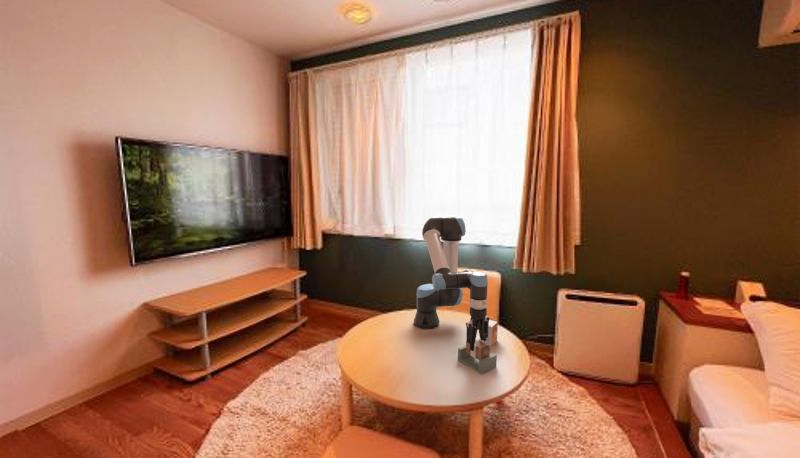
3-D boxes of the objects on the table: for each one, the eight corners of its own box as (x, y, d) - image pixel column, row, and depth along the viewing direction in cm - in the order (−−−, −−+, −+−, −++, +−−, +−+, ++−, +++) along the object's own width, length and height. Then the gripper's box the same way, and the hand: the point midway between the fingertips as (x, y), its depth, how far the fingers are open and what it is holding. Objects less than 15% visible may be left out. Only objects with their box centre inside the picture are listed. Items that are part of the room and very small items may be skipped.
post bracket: (457, 360, 156) (458, 348, 155) (472, 353, 162) (472, 342, 161) (481, 374, 144) (481, 362, 143) (496, 367, 150) (496, 355, 149)
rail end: (466, 352, 155) (466, 340, 154) (473, 349, 157) (473, 337, 157) (482, 361, 147) (482, 349, 146) (489, 358, 149) (489, 346, 148)
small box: (491, 346, 169) (492, 327, 167) (481, 343, 172) (481, 324, 171) (497, 340, 175) (498, 321, 173) (487, 337, 178) (488, 319, 177)
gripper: (470, 313, 141) (469, 364, 144) (497, 304, 151) (496, 352, 154) (458, 308, 147) (457, 357, 150) (484, 300, 157) (483, 346, 160)
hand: (477, 354), depth 152 cm, fingers closed on rail end, 4 cm apart
